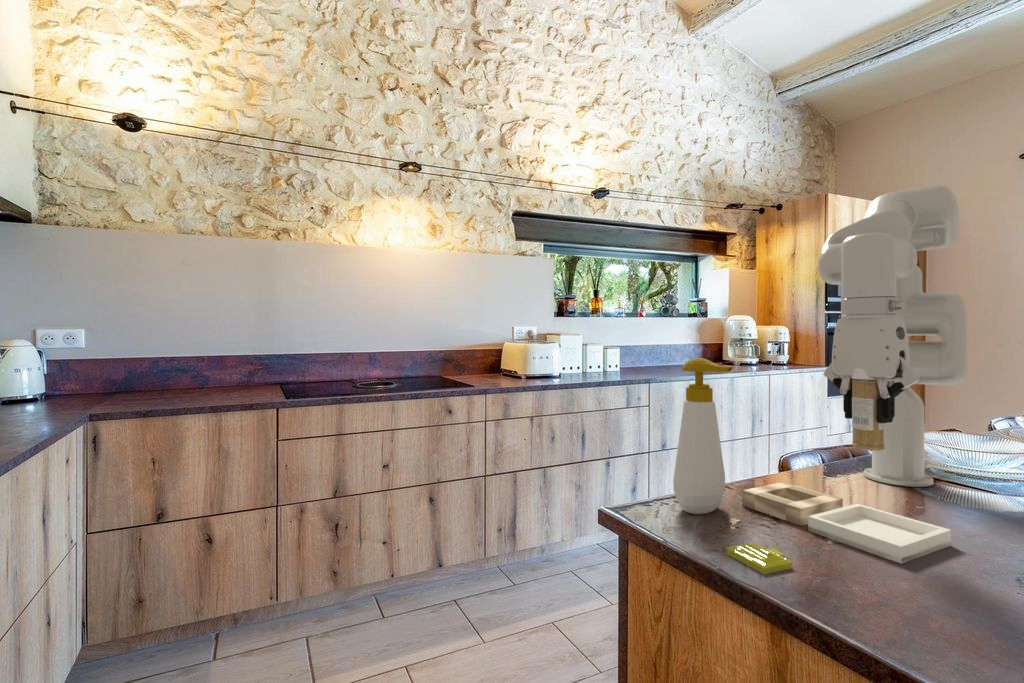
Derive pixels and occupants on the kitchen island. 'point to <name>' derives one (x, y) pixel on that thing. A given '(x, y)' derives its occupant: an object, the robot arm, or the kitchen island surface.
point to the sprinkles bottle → (866, 413)
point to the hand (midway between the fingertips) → (868, 418)
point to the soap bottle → (699, 445)
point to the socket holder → (789, 501)
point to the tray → (880, 532)
